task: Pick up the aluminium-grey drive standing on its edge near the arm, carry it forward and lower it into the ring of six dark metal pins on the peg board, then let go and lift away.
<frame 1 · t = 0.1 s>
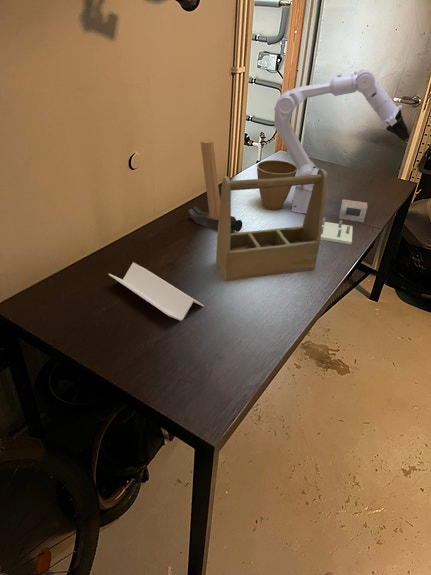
hand: (405, 135, 142), 32 cm above the table, tool tilted 50°, fingers open, 7 cm apart
hammer: (214, 226, 153), on the table
peg board: (329, 232, 152), on the table
z bracket: (156, 297, 119), on the table
plant pot: (272, 206, 168), on the table, touching arm
caddy: (264, 266, 133), on the table
drive: (351, 218, 162), on the table
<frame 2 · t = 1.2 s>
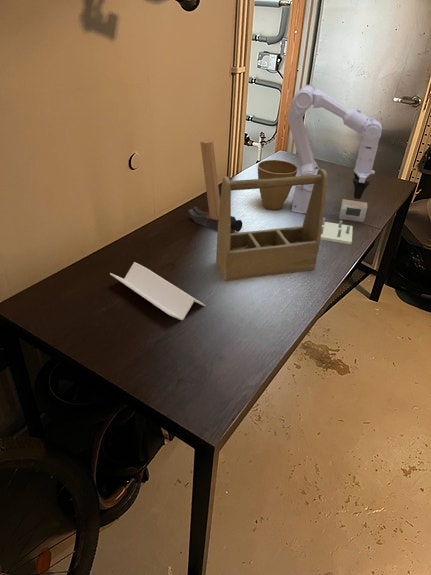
hand: (357, 194, 157), 9 cm above the table, tool pointing down, fingers open, 7 cm apart
plant pot: (272, 206, 168), on the table
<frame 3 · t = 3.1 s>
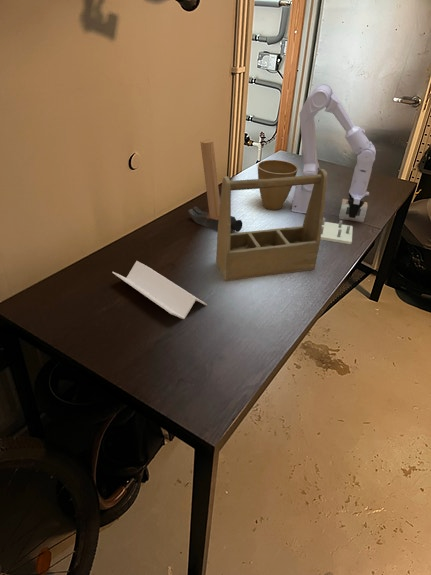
hand: (352, 214, 161), 1 cm above the table, tool pointing down, fingers closed on drive, 5 cm apart
drive: (351, 217, 162), on the table, touching gripper
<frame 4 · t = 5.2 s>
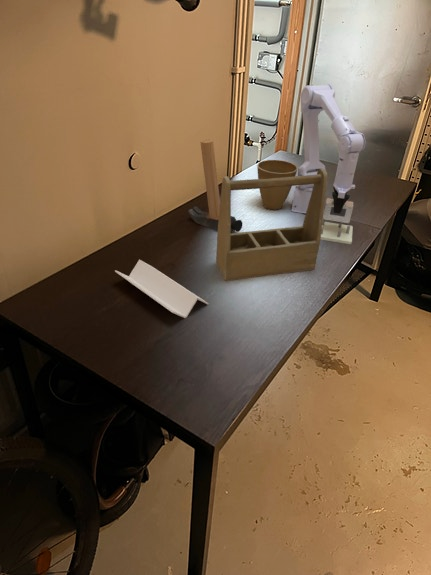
hand: (337, 209, 148), 8 cm above the table, tool pointing down, fingers closed on drive, 5 cm apart
drive: (336, 218, 150), point 5 cm above the table, touching gripper
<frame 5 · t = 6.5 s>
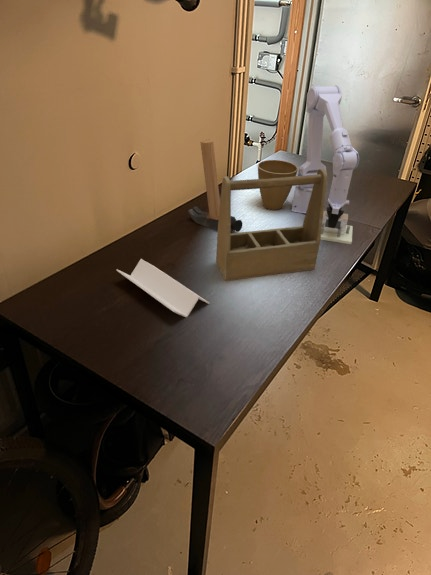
hand: (331, 224, 150), 3 cm above the table, tool pointing down, fingers closed on drive, 5 cm apart
drive: (331, 230, 151), point 1 cm above the table, touching gripper, peg board
when the fingers open (3 cm above the table, at t = 7.3 s): drive stays where it is, resting on peg board.
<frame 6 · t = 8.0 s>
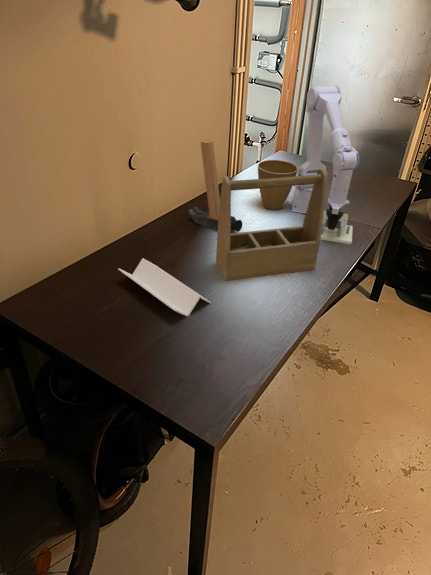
hand: (331, 224, 150), 3 cm above the table, tool pointing down, fingers open, 7 cm apart
drive: (331, 230, 151), point 1 cm above the table, touching peg board
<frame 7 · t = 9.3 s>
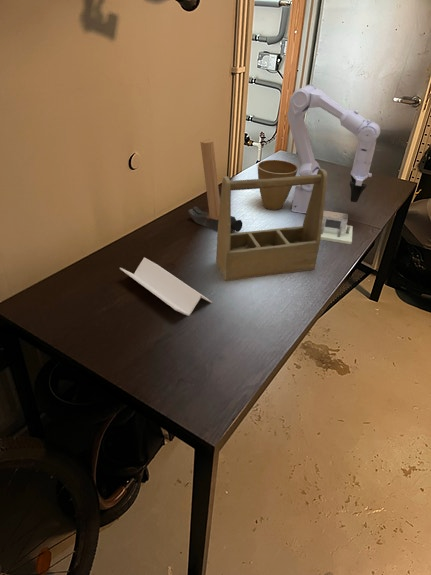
hand: (354, 197, 154), 9 cm above the table, tool pointing down, fingers open, 7 cm apart
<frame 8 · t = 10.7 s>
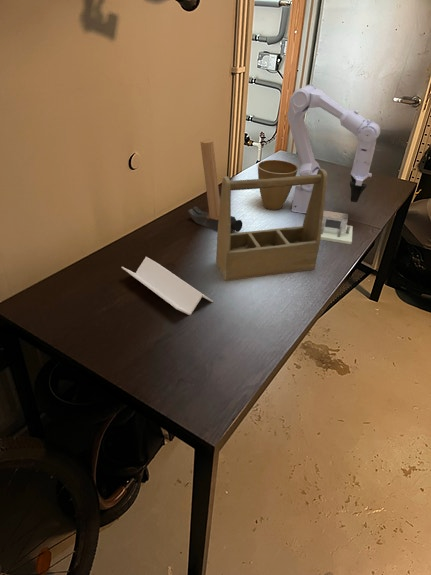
hand: (354, 197, 154), 9 cm above the table, tool pointing down, fingers open, 7 cm apart
at the end: drive 0.3 cm off-centre on the peg board, point 1.0 cm above the peg board's base; drive tilted 0°; the gripper is holding nothing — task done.
